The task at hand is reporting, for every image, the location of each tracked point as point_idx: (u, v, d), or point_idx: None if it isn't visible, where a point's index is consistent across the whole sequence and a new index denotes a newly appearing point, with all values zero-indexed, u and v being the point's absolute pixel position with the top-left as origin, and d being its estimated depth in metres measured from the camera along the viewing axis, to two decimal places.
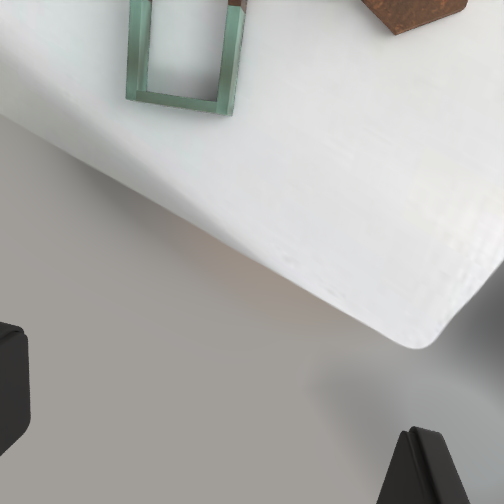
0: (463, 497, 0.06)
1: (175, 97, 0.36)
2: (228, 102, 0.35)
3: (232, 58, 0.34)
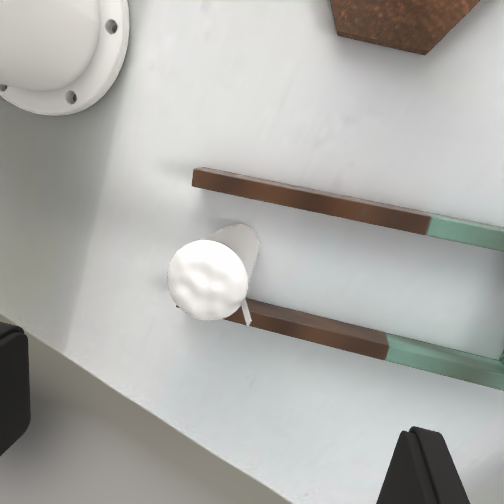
0: (463, 497, 0.06)
1: None
2: None
3: (502, 234, 0.22)
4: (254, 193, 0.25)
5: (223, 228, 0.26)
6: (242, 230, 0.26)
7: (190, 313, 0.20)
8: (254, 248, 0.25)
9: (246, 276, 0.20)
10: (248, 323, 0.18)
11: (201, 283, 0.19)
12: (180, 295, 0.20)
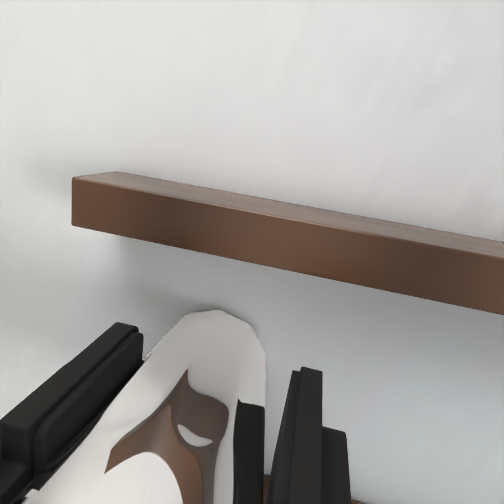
0: (318, 411, 0.08)
1: None
2: None
3: None
4: (246, 244, 0.08)
5: (167, 339, 0.09)
6: (220, 346, 0.09)
7: None
8: (258, 407, 0.08)
9: None
10: None
11: None
12: None
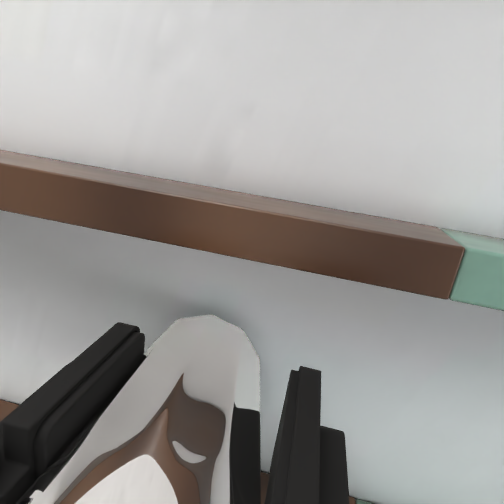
0: (316, 411, 0.08)
1: None
2: None
3: None
4: None
5: (159, 347, 0.09)
6: (214, 353, 0.09)
7: None
8: (253, 417, 0.08)
9: None
10: None
11: None
12: None
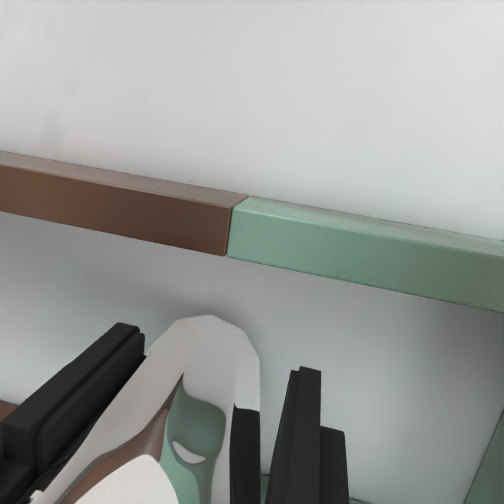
0: (316, 410, 0.08)
1: None
2: None
3: (424, 250, 0.08)
4: None
5: (159, 347, 0.09)
6: (214, 353, 0.09)
7: None
8: (253, 417, 0.08)
9: None
10: None
11: None
12: None
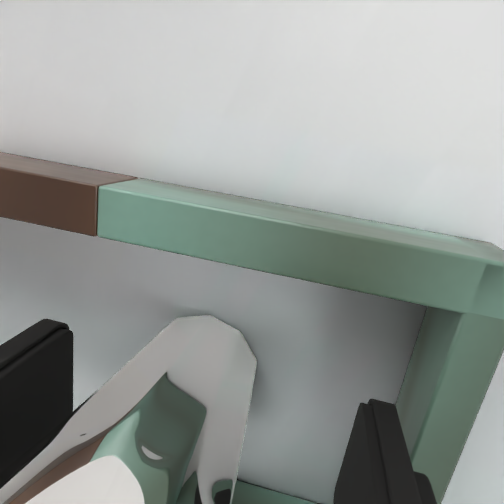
0: (405, 456, 0.07)
1: None
2: (474, 259, 0.07)
3: (282, 229, 0.08)
4: None
5: (151, 344, 0.09)
6: (203, 353, 0.09)
7: None
8: (237, 421, 0.08)
9: None
10: None
11: None
12: None
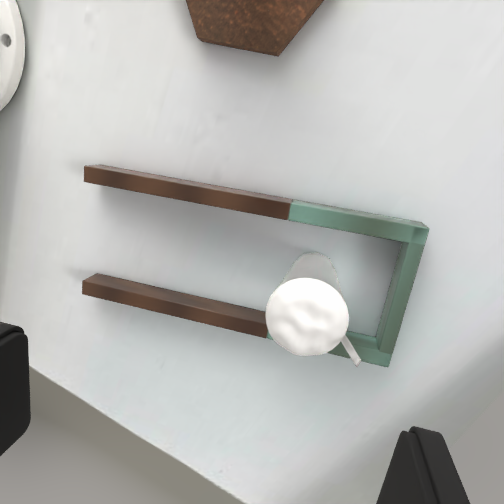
0: (463, 497, 0.06)
1: (394, 300, 0.25)
2: (411, 225, 0.24)
3: (352, 217, 0.25)
4: (137, 186, 0.27)
5: (302, 258, 0.26)
6: (322, 260, 0.26)
7: (291, 350, 0.20)
8: (337, 279, 0.25)
9: (348, 313, 0.20)
10: (357, 362, 0.19)
11: (305, 321, 0.20)
12: (282, 333, 0.20)
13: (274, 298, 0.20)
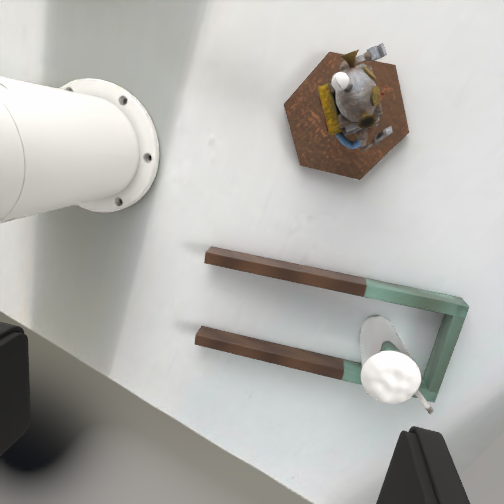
0: (463, 497, 0.06)
1: (441, 355, 0.35)
2: (456, 304, 0.33)
3: (413, 296, 0.34)
4: (247, 268, 0.36)
5: (373, 323, 0.35)
6: (388, 325, 0.35)
7: (380, 400, 0.30)
8: None
9: (420, 376, 0.29)
10: (430, 411, 0.28)
11: (393, 382, 0.29)
12: (375, 389, 0.29)
13: (369, 365, 0.29)
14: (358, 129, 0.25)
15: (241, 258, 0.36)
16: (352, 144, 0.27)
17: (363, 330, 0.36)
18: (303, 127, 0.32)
